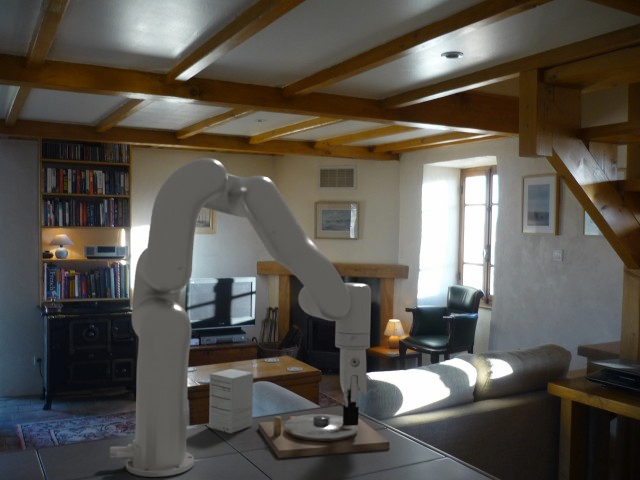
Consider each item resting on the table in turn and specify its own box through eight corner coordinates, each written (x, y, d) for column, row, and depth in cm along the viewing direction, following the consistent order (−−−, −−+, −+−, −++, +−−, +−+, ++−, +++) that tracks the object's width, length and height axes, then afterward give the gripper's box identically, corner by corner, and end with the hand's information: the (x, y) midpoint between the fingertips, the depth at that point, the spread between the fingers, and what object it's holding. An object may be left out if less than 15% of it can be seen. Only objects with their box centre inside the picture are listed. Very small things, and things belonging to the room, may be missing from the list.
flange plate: (329, 446, 129) (330, 423, 129) (267, 429, 139) (267, 408, 139) (371, 428, 142) (371, 407, 142) (311, 414, 152) (311, 395, 152)
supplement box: (230, 420, 153) (231, 368, 153) (253, 426, 148) (254, 372, 148) (207, 427, 147) (208, 372, 147) (231, 434, 142) (232, 377, 142)
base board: (278, 458, 127) (279, 431, 127) (258, 428, 146) (259, 405, 146) (389, 448, 134) (389, 423, 134) (356, 422, 154) (356, 400, 154)
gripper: (374, 346, 131) (372, 435, 131) (365, 335, 146) (363, 415, 146) (338, 345, 130) (336, 434, 130) (332, 334, 145) (330, 414, 145)
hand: (350, 424), depth 138 cm, fingers closed
